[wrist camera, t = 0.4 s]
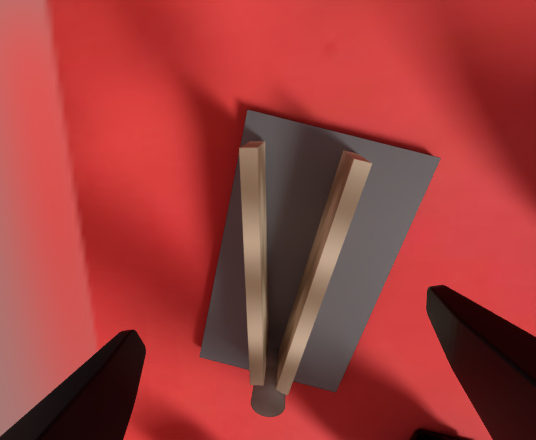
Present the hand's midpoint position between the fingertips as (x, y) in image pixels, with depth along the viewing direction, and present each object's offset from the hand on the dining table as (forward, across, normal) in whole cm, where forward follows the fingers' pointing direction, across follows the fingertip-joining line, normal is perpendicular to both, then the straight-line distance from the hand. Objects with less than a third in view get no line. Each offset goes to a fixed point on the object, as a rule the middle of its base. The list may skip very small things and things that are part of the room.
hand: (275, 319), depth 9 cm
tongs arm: (+12, +2, +6) cm, 13 cm away
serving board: (+13, 0, +8) cm, 15 cm away
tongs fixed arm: (+12, 0, +8) cm, 14 cm away
